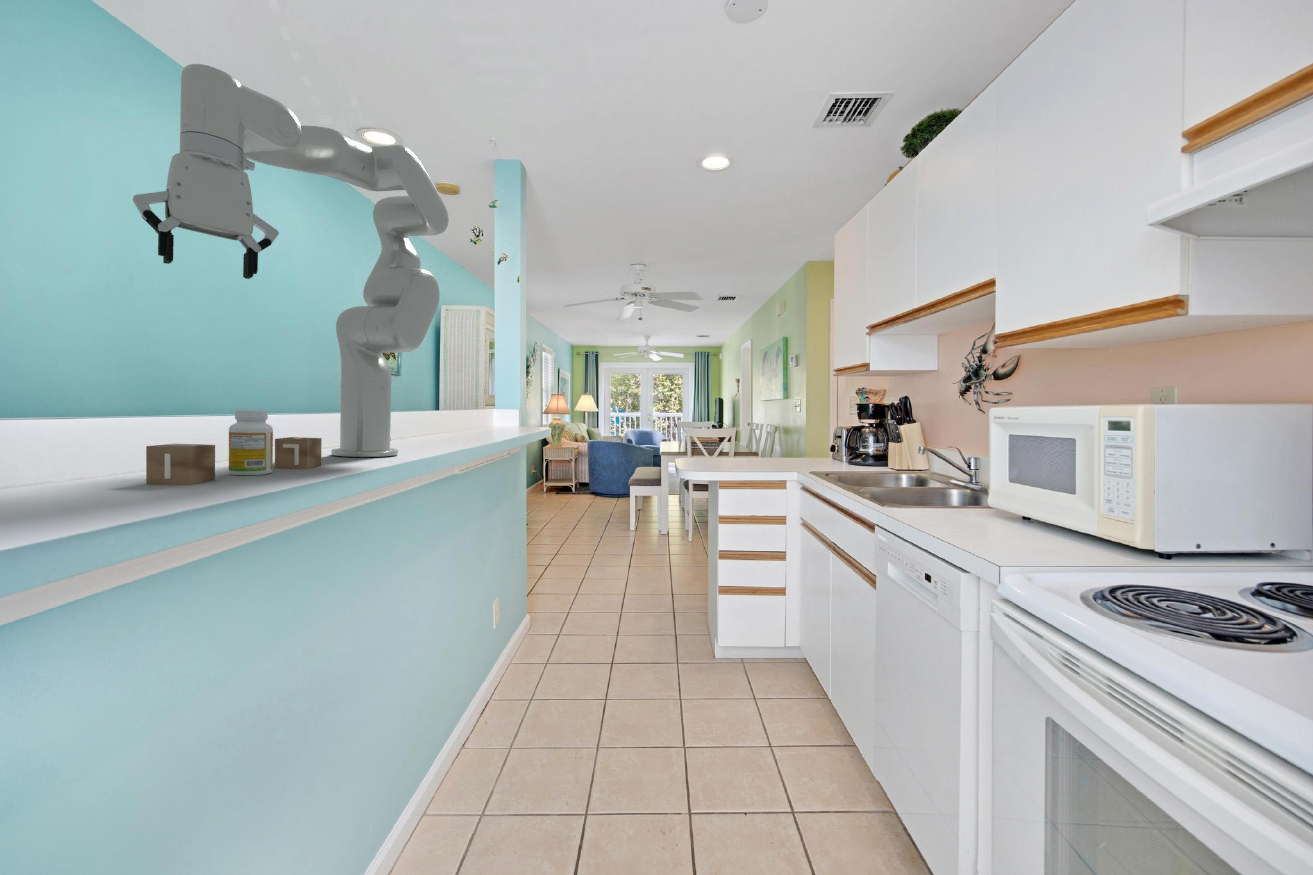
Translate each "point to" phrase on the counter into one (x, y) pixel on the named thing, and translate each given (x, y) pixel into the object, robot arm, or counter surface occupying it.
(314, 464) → the walnut block
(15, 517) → the counter surface
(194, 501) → the counter surface
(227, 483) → the counter surface
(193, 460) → the walnut block
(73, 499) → the counter surface
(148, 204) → the robot arm
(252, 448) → the supplement bottle
